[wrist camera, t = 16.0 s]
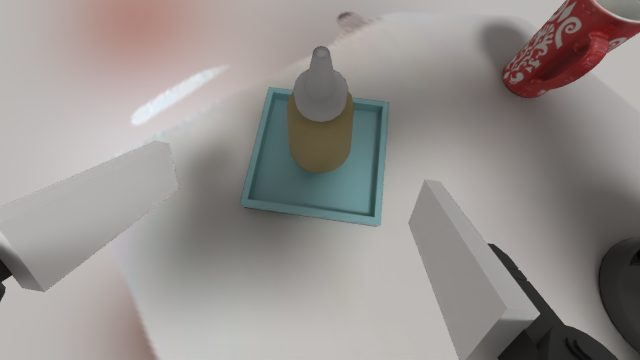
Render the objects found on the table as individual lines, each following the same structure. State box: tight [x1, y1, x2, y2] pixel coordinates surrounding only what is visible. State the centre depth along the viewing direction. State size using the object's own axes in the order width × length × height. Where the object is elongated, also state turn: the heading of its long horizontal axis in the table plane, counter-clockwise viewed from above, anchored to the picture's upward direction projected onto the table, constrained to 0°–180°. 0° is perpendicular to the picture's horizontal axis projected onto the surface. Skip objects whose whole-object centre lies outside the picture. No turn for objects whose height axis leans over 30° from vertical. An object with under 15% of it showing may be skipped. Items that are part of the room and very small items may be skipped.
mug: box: [503, 0, 640, 98], centre depth 31 cm, size 13×9×14 cm
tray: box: [240, 87, 389, 226], centre depth 33 cm, size 18×18×2 cm
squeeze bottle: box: [287, 46, 354, 174], centre depth 24 cm, size 8×8×18 cm
